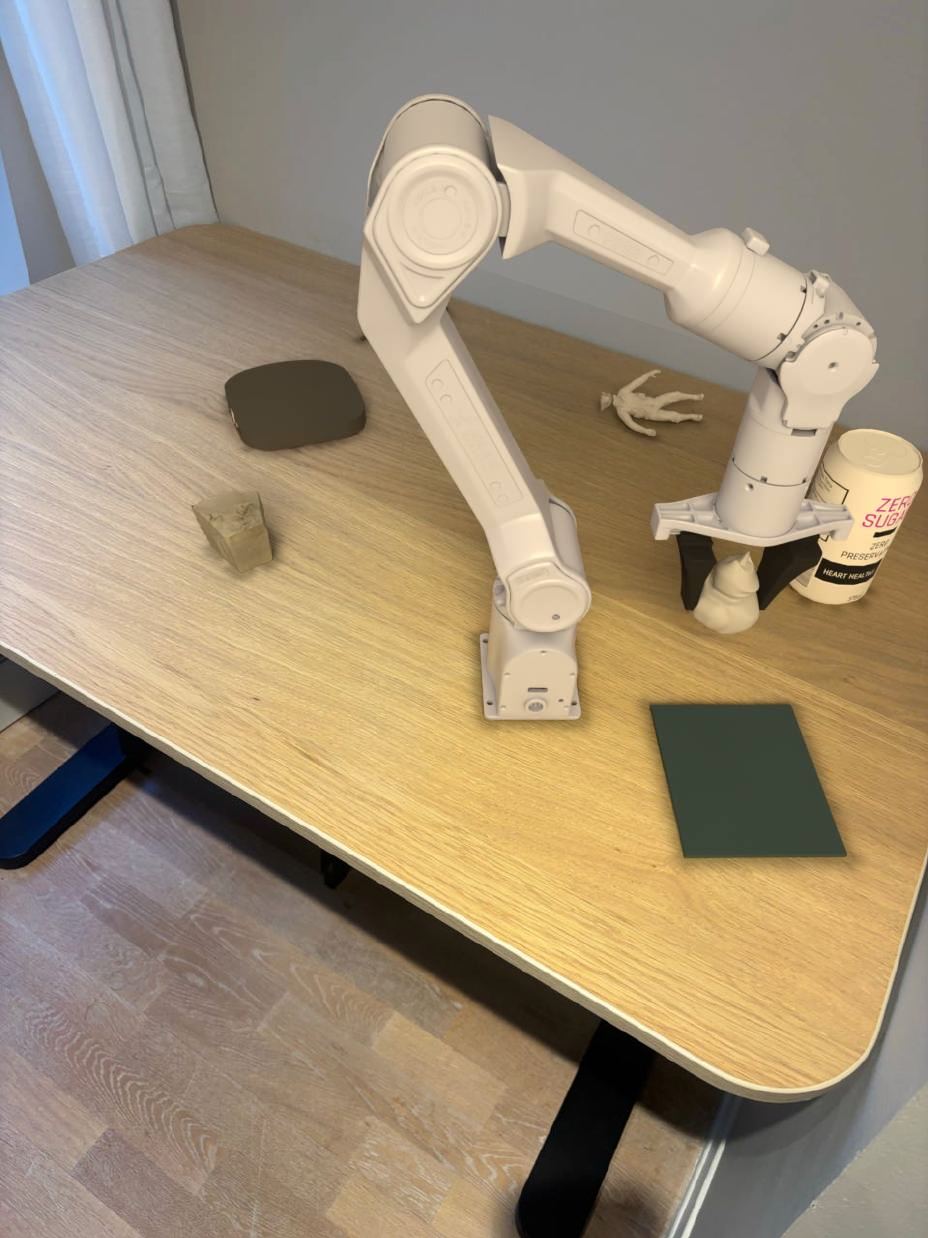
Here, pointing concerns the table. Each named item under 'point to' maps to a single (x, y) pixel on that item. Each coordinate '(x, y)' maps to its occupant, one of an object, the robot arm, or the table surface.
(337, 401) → the media streaming box
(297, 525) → the table surface
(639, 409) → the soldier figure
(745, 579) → the cream rounded figure
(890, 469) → the supplement can
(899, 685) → the table surface
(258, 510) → the mineral specimen
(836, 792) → the table surface
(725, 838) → the mat
